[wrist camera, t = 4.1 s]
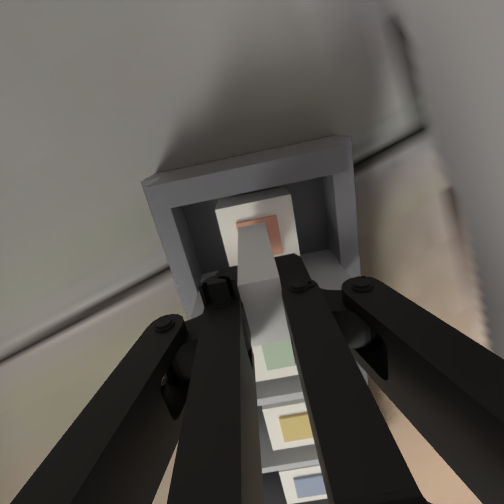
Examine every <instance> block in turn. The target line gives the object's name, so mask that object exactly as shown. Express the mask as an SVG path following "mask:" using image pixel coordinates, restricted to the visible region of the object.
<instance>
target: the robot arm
mask: <svg viewBox="0 0 504 504" xmlns="http://www.w3.org/2000/svg"><path fill="white" fill-rule="evenodd" d="M198 288H199V292H200V295H201V298H202V301H203V304H204V310H203V313H202V314H201V315H199V316H197V317H195V318H193V319H190V320H188V321H185V322H184V319H183V317H182V316H181V315H179V314H170V315H165V316H162V317H159V318H158V319H157V320H155V321H153V322H152V323H151V324H150V325H149V326H148V327H147V328H146V330H145V331H144V332H143V334H142V335H141V336H140V337H139V339H138V340H137V341H136V343H135V344H134V345H133V346H132V348H131V349H130V350H129V352H128V353H127V354H126V355H125V357H124V358H123V359H122V360H121V362H120V363H119V364H118V366H117V367H116V368H115V369H114V371H113V372H112V373H111V375H110V376H109V377H108V378H107V380H106V381H105V382H104V384H103V385H102V386H101V387H100V389H99V390H98V391H97V393H96V394H95V395H94V396H93V398H92V399H91V400H90V402H89V403H88V404H87V405H86V407H85V408H84V409H83V411H82V412H81V413H80V414H79V416H78V417H77V418H76V420H75V421H74V422H73V423H72V425H71V426H70V427H69V429H68V430H67V431H66V432H65V434H64V435H63V436H62V438H61V439H60V440H59V441H58V443H57V444H56V445H55V447H54V448H53V449H52V450H51V452H50V453H49V454H48V456H47V457H46V458H45V459H44V461H43V462H42V463H41V465H40V466H39V467H38V468H37V470H36V471H35V472H34V474H33V475H32V476H31V477H30V479H29V480H28V481H27V483H26V484H25V485H24V486H23V488H22V489H21V490H20V492H19V493H18V494H17V495H16V497H15V498H14V499H13V501H12V502H11V503H10V504H152V502H153V500H154V497H155V495H156V492H157V490H158V488H159V485H160V483H161V481H162V478H163V476H164V473H165V471H166V469H167V466H168V464H169V461H170V459H171V457H172V454H173V452H174V450H175V447H176V445H177V442H178V440H179V442H178V447H177V452H176V458H175V463H174V468H173V474H172V479H171V484H170V489H169V495H168V500H167V504H264V494H263V479H262V465H261V450H260V436H259V421H258V407H257V392H256V378H255V363H254V354H253V350H252V346H251V341H252V345H253V346H258V345H263V344H268V343H274V342H279V341H284V340H289V339H291V344H292V350H293V355H294V360H295V364H296V366H297V371H298V375H299V379H300V383H301V388H302V392H303V396H304V400H305V405H306V409H307V413H308V417H309V422H310V426H311V430H312V434H313V439H314V443H315V447H316V451H317V456H318V460H319V464H320V469H321V473H322V477H323V481H324V486H325V490H326V494H327V498H328V503H329V504H432V503H430V502H427V501H426V499H425V498H424V497H423V495H422V494H421V492H420V490H419V488H418V486H417V484H416V482H415V480H414V478H413V476H412V474H411V472H410V470H409V468H408V466H407V464H406V462H405V460H404V458H403V456H402V454H401V452H400V450H399V448H398V446H397V444H396V442H395V440H394V438H393V436H392V434H391V432H390V430H389V427H388V425H387V423H386V421H385V419H384V417H383V415H382V413H381V411H380V409H379V407H378V405H377V403H376V401H375V399H374V397H373V395H372V393H371V391H370V389H369V387H368V385H367V383H366V381H365V379H364V377H363V375H362V373H361V371H360V369H359V367H358V365H357V363H358V364H359V365H360V366H361V367H362V368H363V369H364V370H365V372H366V373H367V374H368V375H369V376H370V377H371V378H372V379H373V381H374V382H375V383H376V384H377V385H378V386H379V387H380V388H381V390H382V391H383V392H384V393H385V394H386V395H387V396H388V397H389V399H390V400H391V401H392V402H393V403H394V404H395V405H396V406H397V408H398V409H399V410H400V411H401V412H402V413H403V414H404V415H405V417H406V418H407V419H408V420H409V421H410V422H411V423H412V425H413V426H414V427H415V428H416V429H417V430H418V431H419V432H420V434H421V435H422V436H423V437H424V438H425V439H426V440H427V441H428V443H429V444H430V445H431V446H432V447H433V448H434V449H435V450H436V452H437V453H438V454H439V455H440V456H441V457H442V458H443V459H444V461H445V462H446V463H447V464H448V465H449V466H450V467H451V468H452V470H453V471H454V472H455V473H456V474H457V475H458V476H459V477H460V479H461V480H462V481H463V482H464V483H465V484H466V485H467V486H468V488H469V489H470V490H471V491H472V492H473V493H474V494H475V495H476V497H477V498H478V499H479V500H480V501H481V502H482V503H483V504H504V359H502V358H501V357H499V356H497V355H496V354H494V353H493V352H491V351H490V350H488V349H486V348H485V347H483V346H482V345H480V344H479V343H477V342H475V341H474V340H472V339H471V338H469V337H467V336H466V335H464V334H463V333H461V332H460V331H458V330H456V329H455V328H453V327H452V326H450V325H449V324H447V323H445V322H444V321H442V320H441V319H439V318H438V317H436V316H434V315H433V314H431V313H430V312H428V311H427V310H425V309H423V308H422V307H420V306H419V305H417V304H416V303H414V302H412V301H411V300H409V299H408V298H406V297H404V296H403V295H401V294H400V293H398V292H397V291H395V290H393V289H392V288H390V287H389V286H387V285H386V284H384V283H382V282H381V281H379V280H377V279H375V278H372V277H366V276H361V277H360V276H357V277H354V278H350V279H348V280H346V281H344V282H343V284H342V287H341V290H327V289H322V288H320V287H319V285H318V284H317V283H316V282H315V281H314V280H311V278H310V275H309V273H308V271H307V269H306V267H305V265H304V263H303V261H302V258H301V257H300V256H298V255H297V254H295V253H292V254H287V255H282V256H277V257H274V255H273V251H272V248H271V244H270V240H269V236H268V233H267V229H266V225H265V222H263V223H258V224H253V225H248V226H243V227H238V265H237V266H232V267H227V268H222V269H220V270H219V271H218V272H217V273H216V274H215V276H212V277H209V278H207V279H205V280H204V281H202V282H201V283H200V285H199V286H198ZM356 361H357V362H356ZM163 377H164V378H163ZM162 379H163V380H162Z"/></svg>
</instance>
